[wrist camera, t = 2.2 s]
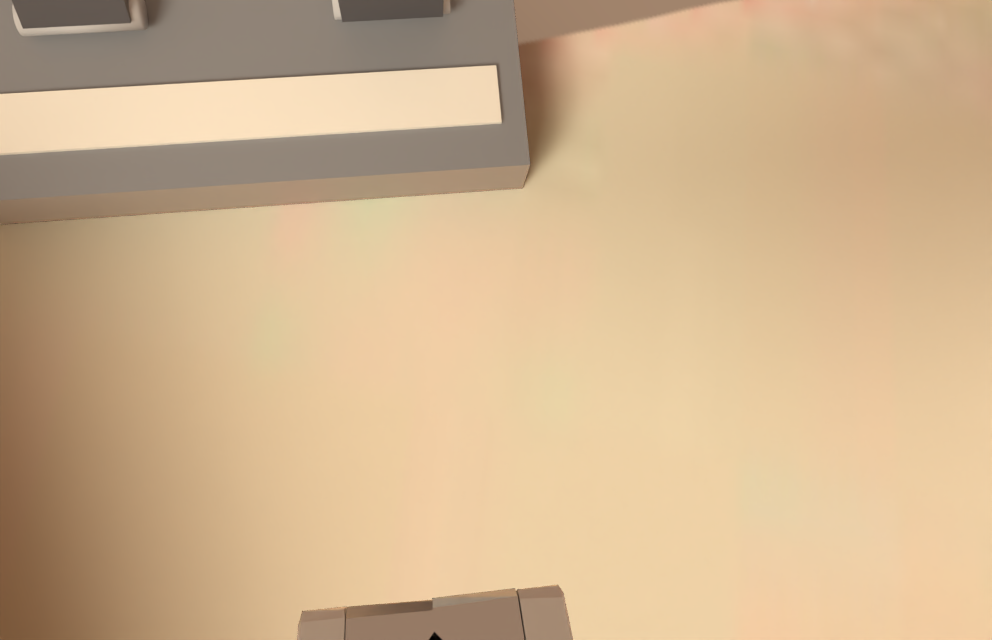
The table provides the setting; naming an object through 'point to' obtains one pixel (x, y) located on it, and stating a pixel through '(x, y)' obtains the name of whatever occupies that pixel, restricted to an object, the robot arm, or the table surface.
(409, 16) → the lever
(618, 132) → the table surface
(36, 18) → the lever
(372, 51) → the breaker panel
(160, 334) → the table surface
